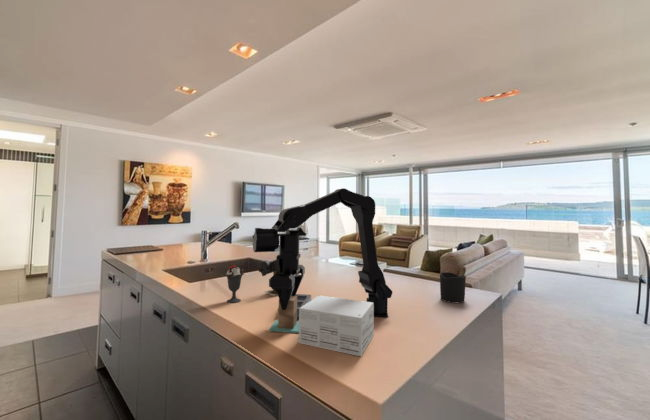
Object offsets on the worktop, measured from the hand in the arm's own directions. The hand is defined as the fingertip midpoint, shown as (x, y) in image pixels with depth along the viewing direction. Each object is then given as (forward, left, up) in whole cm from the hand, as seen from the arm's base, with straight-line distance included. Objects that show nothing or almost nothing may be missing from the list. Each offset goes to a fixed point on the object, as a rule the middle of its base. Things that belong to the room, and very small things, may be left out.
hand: (288, 304), depth 81 cm
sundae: (+26, -20, -7) cm, 33 cm away
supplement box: (-15, +5, -7) cm, 17 cm away
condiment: (+13, -34, -7) cm, 37 cm away
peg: (0, 0, -6) cm, 6 cm away
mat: (0, 0, -7) cm, 7 cm away
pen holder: (-58, -37, -7) cm, 69 cm away
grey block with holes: (+1, -15, -7) cm, 16 cm away
